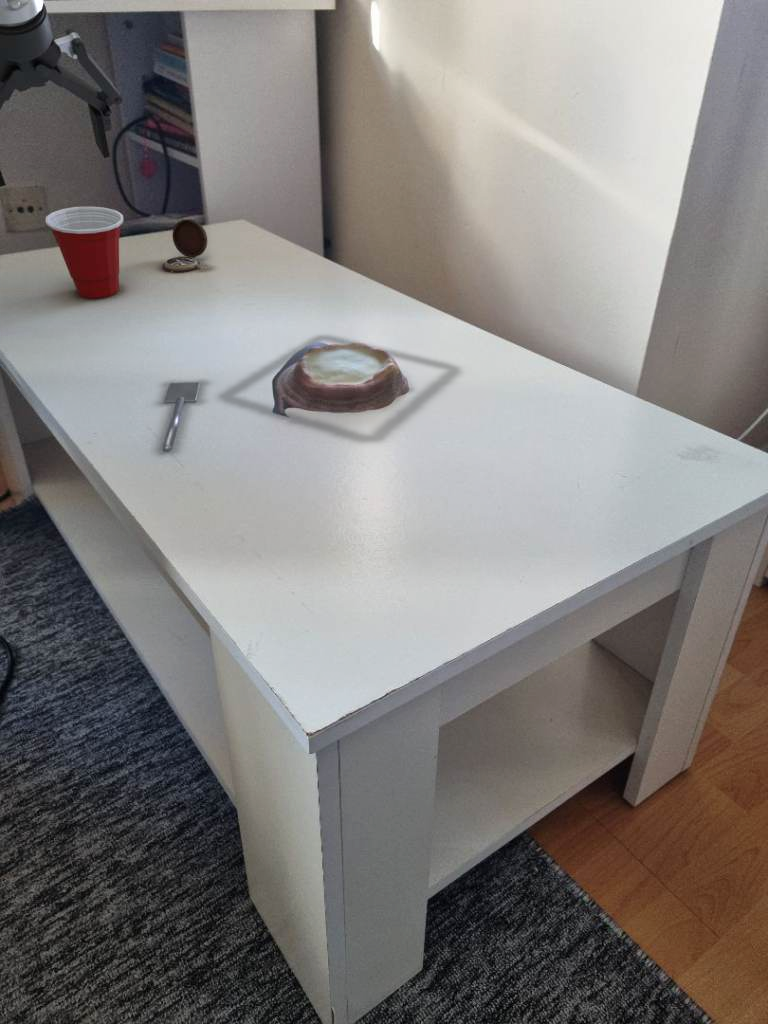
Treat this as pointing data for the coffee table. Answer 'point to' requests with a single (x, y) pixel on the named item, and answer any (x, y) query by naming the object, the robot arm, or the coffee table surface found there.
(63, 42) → the robot arm
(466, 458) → the coffee table surface
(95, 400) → the coffee table surface
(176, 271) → the compass
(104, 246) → the plastic cup
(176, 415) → the metal spatula
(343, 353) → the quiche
